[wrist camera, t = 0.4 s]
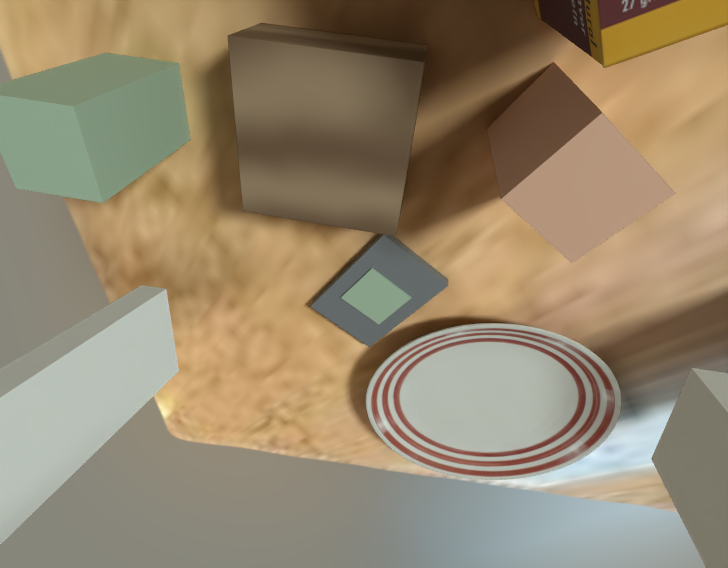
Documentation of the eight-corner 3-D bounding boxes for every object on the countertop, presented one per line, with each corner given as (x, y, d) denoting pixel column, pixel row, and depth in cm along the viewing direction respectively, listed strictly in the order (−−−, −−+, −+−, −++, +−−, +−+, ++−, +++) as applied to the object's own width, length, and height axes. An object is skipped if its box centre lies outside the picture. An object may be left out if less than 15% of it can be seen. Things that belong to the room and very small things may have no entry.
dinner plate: (649, 311, 41) (663, 336, 38) (581, 470, 57) (588, 495, 55) (361, 298, 45) (356, 319, 43) (375, 448, 62) (372, 470, 59)
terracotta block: (553, 62, 30) (602, 112, 20) (607, 121, 31) (676, 193, 22) (486, 128, 33) (501, 199, 24) (538, 179, 35) (571, 263, 25)
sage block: (105, 52, 34) (-27, 91, 25) (178, 63, 34) (73, 106, 24) (124, 129, 38) (16, 188, 28) (190, 139, 37) (103, 203, 28)
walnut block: (261, 22, 31) (227, 35, 26) (428, 45, 30) (424, 62, 25) (268, 179, 38) (243, 211, 34) (402, 200, 38) (395, 236, 33)
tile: (384, 229, 40) (383, 236, 39) (448, 279, 42) (448, 286, 41) (312, 300, 46) (309, 307, 45) (370, 340, 48) (368, 348, 47)
